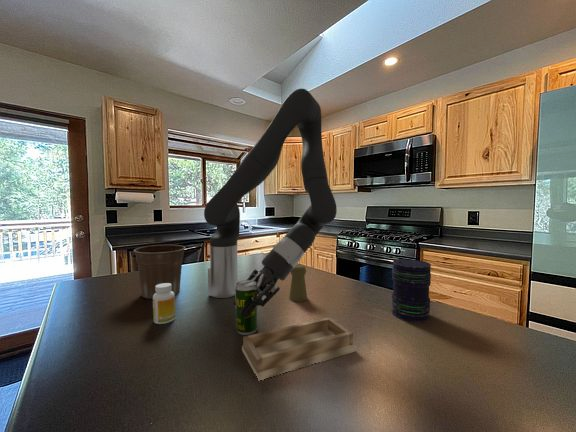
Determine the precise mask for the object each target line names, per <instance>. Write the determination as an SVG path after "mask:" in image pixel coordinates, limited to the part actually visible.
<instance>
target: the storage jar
mask: <svg viewBox="0 0 576 432" xmlns="http://www.w3.org/2000/svg"><path fill="white" fill-rule="evenodd" d="M392 265H393V266H392V270H391V271H392V273H391V274H392V277H391V278H392V282H393V284H392V286H393V287H392V293H391V307H392V310H391V314H392V315H393V316H394V317H395V318H397V319H399V320H400V321H401V320H402V321H405V322H409V323H419V324H420V323H421V324H422V323H425V322H426V323H427V322H428V321H429V320H430V310H431V298H430V286H431V284H432V282H431V279H432V273H431V269H432V267H431V266H432V265H431V263H430V262H427V261H424V260H419V259H410V258H409V259H408V258H400V259H398V258H397V259H394V260H392Z"/></svg>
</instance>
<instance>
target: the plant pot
mask: <svg viewBox="0 0 576 432" xmlns="http://www.w3.org/2000/svg"><path fill="white" fill-rule="evenodd" d="M185 250H186V246H184V245H179V244H157V245H156V244H155V245H146V246H142V247H137V248H135V249H133V253H135V254H134V255H135V259H136V262H135V263H137V269H138V277H139V283H140V286H139V287H140V294H141V297H142V298H145V299H148V300H153V295H154V294H155V293H157V292H156V291H155V286H156V285H158V284H162V283H170V284H171V285H172V289H171V291H173V292H174V295H175V296H176V295H178V294H179V293H180V292H181V280H182V267H183V260H184V255H185Z"/></svg>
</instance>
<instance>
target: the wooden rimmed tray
mask: <svg viewBox="0 0 576 432" xmlns="http://www.w3.org/2000/svg"><path fill="white" fill-rule="evenodd" d="M242 338H243V339H242V342H243V344H242V345H241V351H242V353H243V355H244V357H245V359H246V360H247V362H248V364H249V366H250V368H251V369H252V371H253V373H254V375H255V374H256V375H255V376H257V377H256V378H258V379H257V380H258V382H261V381H260V380H262V381H265V380H264V379H266V378H269V377H272V378H274V377H273V376H275V377H277V376H276V375H278V376H280V375H279V374H281V375H283V374H282V373H285V372H288V371H291V370H294V369H297V370H299V369H298V368H301V367H304V368H306V367H305V366H307V367H309V366H308V365H310V366H312V365H311V364H313V365H315V364H314V363H317V364H319V363H318V362H320V363H323V362H326V361H328V360H332V359H335V358H338V357H341V356H345V355H349V354H352V353H355V352H357V346H356V345H354V333H353V332H352V331H351V330H349V329H347V328H346V327H345V326H343V325H341V324H340V323H339V322H337V321H336V320H335V319H333V318H331V317H330V316H328V317H324V318H319V319H316V320H311V321H307V322H302V323H298V324H293V325H289V326H284V327H280V328H276V329H272V330H268V331H263V332H258V333H253V334H250V335H244V336H243V337H242ZM322 361H323V362H322ZM301 369H302V368H301ZM294 371H295V370H294ZM291 372H292V371H291ZM288 373H289V372H288ZM285 374H286V373H285ZM269 379H270V378H269ZM266 380H267V379H266Z"/></svg>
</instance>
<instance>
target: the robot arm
mask: <svg viewBox="0 0 576 432" xmlns="http://www.w3.org/2000/svg"><path fill="white" fill-rule="evenodd" d="M296 127H297V128H298V130H299V134H300V137H301V141H302V153H301V159H300V160H301V161H300V169H301V175H302V176H301V177H302V182H303V183H302V184H303V188H304V191H305V193H306V194H308V196H309V199H310V200H309V201H310V205H309V206H308V207H307V208H306V210H305V212H303V214H302V215H301V217H299V219H298V220H297V222H296V223H295V224H294V225H293V226H292V227H291V228H290V229H289V230H288V232H287V233H286V234H285V235H284V236H283V237H282V238H281V239H280V240H279V241H278V242H276V244H275V245H274V246H273V247H272V249H271V250H270V251H269V252H268V254H267V255H266V256H265V257H263V259H262V260H261V265H262V266H263V268H261V269H260V270H259V271H258V270H257V269H254V270H253V271H252V272H251V274H250V275H249V277H248V278H247V279H246V280H251V281H255V282H256V287H255V289H254V294H253V295H252V297H251V299H250V300H249V301H248V302H247V303H246V304H245V306H244V307H243V308H242V309H241V310H240V314H241V315H242V316H244V317H245V318H247V317H248V316H249V315H250V313H251V312H252V311H253V310H254V309H255V307H256V306H257V307H260V306H261V307H264V306H265V305H266V304H267V303H268V302H269V301H270V300H272V298H273V297H274V296H275V295H276V294H277V293H278V292H279V291H280V289H281V288H280V287H279V286H278V285H277V283H278V280H280V281H281V282H283V281H284V280H286V278H287V277H288V276H289V274H291V271H292V270H293V268H294V267H295V266H296V265H298V263H299V262H300V261H301V259H302V257H303V256H304V255H305V253H306V252H307V251H308V250H309V248H310V247H311V246H312V245H313V243H314V242H315V240H316V236H317V235H318V234H319V233H320V231H322V229H323V228H324V227H325V226H326V225H328V224H331V223H332V222H333V221H334V220H335V218H336V216H337V212H338V211H337V209H338V208H337V202H336V199H335V197H334V195H333V191H332V189H331V187H330V184H329V179H328V173H327V168H326V161H325V157H324V156H325V155H324V150H323V135H322V109H321V106H320V104H319V102H318V101H317V100H316V98H315V97H314V96H313V95H312V93H311V92H309V90H308V89H306V88H298V89H295V90H293V91H292V92H290V93H289V94H288V96H286V98H285V99H284V101H283V102H282V104H281V105H280V107H279V109H278V110H277V112H276V114H275V115H274V117H273V118H272V121H271V122H270V124H269V125H268V126H267V127H266V129H265V130H264V131H263V133H262V135H261V136H260V138H258V140H257V142H256V143H255V144H254V146H253V147H252V148H251V149H250V150H249V152H248V153H247V154H246V155H245V157H244V158H243V160H242V161H241V163H240V164H239V165H238V166H237V168H236V169H235V170H234V171H233V173H232V174H231V176H230V177H229V178H228V180H227V181H226V182H225V183H224V185H223V186H222V187H221V188H220V189H219V190H217V192H216V193H215V194H214V195H213V197H211V198H210V200H208V202H207V204H206V205H205V207H204V210H203V211H204V212H203V216H204V217H203V218H204V220H205V222H206V223H207V224H209V225H210V226H214V227H216V229H215V232H214V233H213V235H211V236H210V238H209V263H210V264H209V265H210V266H209V267H208V268H207V284H208V285H207V288H208V289H207V294H208V296H209V297H213V298H215V299H216V298H217V299H227V298H231V297H235V287H236V283H237V282H239V281H238V278H239V277H238V276H239V275H238V272H239V271H238V270H239V269H238V266H239V265H238V239H239V236H240V226H241V213H240V207H239V205H238V202H240V200H242V198H243V197H245V196H246V195H247V194H249V193H250V192H252V191H254V189H256V188H257V187H259V186H260V185H261V184H262V183H263V182H265V180H266V179H267V178H268V177H269V176H270V174H271V173H272V172H273V170H274V169H275V168H276V167H277V165H278V163H279V160H280V157H281V154H282V149H283V146H284V144H285V141H286V140H287V138H288V136H289V135H290V134H291V132H292V131H294V128H296ZM233 305H234V306H235V307H236V305H235V301H233Z"/></svg>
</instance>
